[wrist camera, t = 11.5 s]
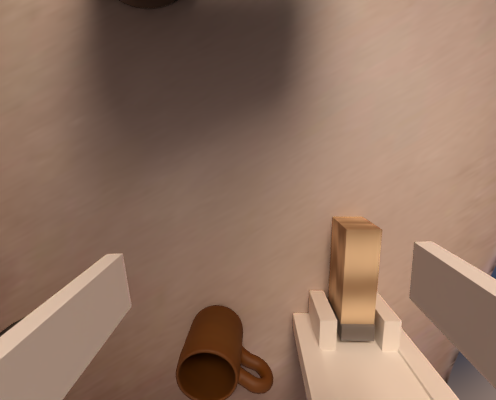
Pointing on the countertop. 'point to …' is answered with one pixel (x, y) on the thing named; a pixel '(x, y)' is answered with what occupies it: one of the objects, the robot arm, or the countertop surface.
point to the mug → (218, 358)
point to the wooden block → (354, 276)
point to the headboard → (362, 359)
